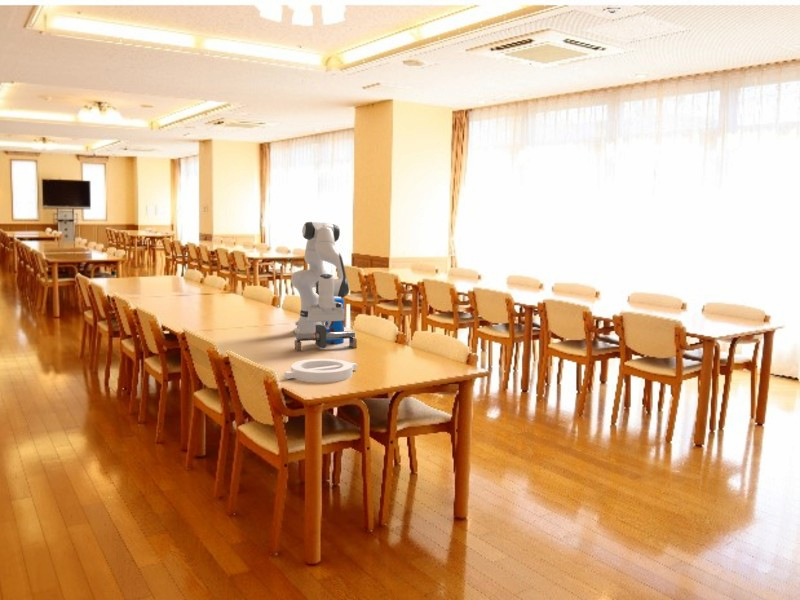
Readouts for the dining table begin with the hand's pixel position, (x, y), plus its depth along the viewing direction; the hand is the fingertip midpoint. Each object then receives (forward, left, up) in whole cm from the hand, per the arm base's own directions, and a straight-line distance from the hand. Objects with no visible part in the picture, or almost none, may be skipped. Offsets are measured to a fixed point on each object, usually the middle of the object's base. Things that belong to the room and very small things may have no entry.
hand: (326, 329), depth 364 cm
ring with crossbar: (+57, -18, -11) cm, 61 cm away
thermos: (-16, +9, -11) cm, 21 cm away
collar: (0, -3, -9) cm, 10 cm away
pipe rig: (0, 0, -11) cm, 11 cm away
